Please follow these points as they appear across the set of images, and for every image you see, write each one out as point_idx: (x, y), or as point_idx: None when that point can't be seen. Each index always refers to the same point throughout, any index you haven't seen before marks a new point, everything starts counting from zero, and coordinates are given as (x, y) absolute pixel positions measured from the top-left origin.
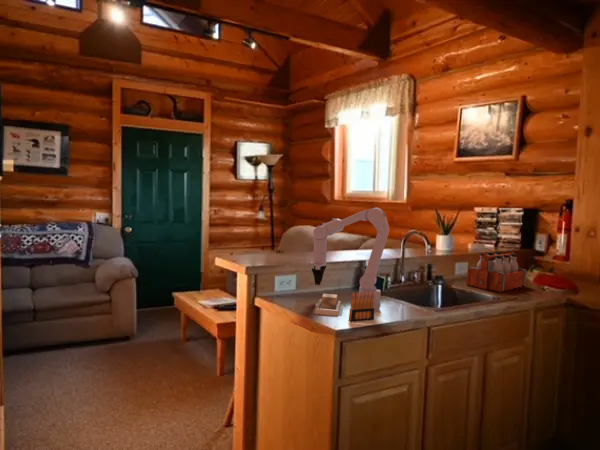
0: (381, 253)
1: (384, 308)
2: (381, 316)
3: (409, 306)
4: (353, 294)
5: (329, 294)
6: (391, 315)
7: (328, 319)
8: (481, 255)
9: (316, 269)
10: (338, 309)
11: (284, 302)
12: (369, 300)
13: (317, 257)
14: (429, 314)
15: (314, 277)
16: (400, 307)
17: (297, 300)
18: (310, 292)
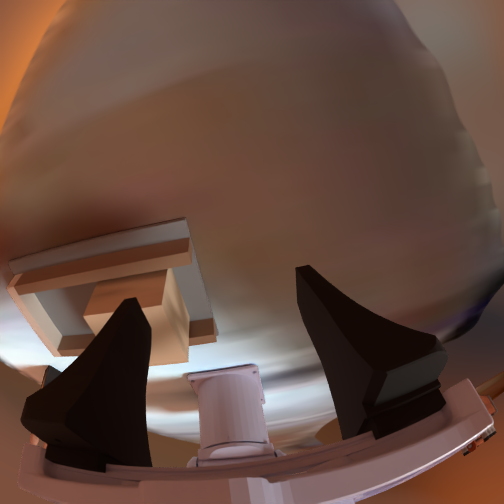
0: None
1: (264, 407)
2: (165, 413)
3: (313, 423)
4: (31, 441)
5: (164, 335)
6: (194, 423)
7: (16, 320)
8: (486, 437)
9: (50, 446)
10: (69, 355)
11: (120, 31)
12: None
13: None
14: None
15: (87, 349)
16: (295, 419)
17: (219, 78)
18: (448, 124)
